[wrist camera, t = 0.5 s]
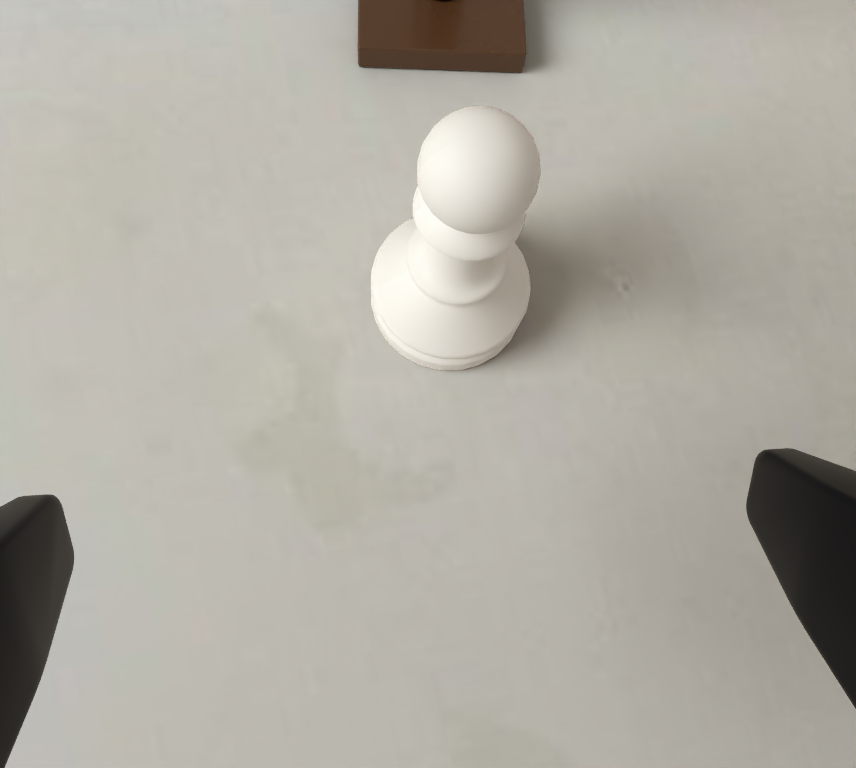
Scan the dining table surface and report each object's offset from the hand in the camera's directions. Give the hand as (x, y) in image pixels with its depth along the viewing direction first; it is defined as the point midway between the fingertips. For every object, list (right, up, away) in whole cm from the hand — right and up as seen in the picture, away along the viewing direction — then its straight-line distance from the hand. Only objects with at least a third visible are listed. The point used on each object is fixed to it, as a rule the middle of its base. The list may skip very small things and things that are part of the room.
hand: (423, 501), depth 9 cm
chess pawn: (+1, +4, +15) cm, 15 cm away
